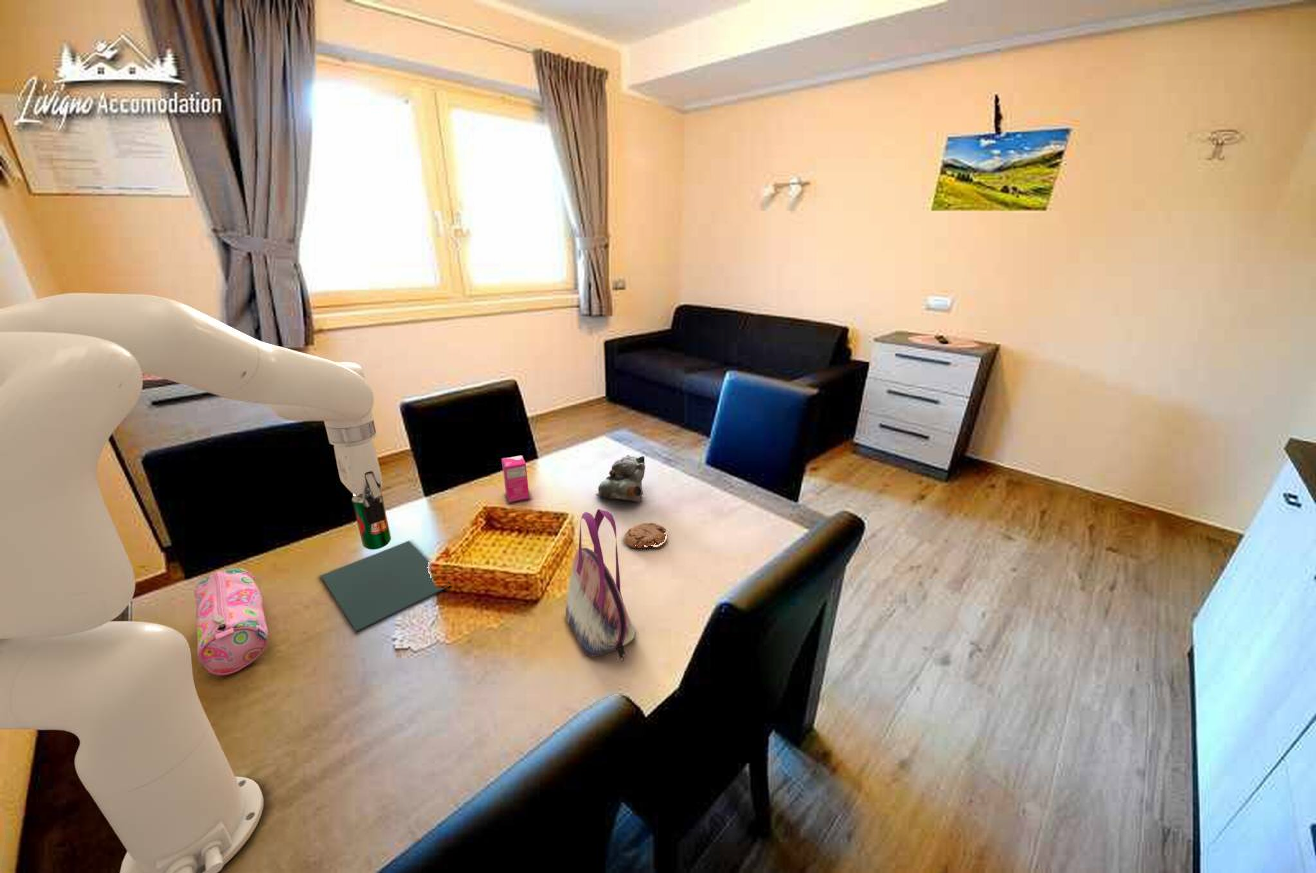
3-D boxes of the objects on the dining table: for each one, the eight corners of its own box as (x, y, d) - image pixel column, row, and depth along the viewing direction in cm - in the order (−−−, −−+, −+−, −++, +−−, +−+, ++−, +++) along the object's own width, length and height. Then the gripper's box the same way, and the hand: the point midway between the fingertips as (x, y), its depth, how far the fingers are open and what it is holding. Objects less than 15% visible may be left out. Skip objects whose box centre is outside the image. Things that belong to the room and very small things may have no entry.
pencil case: (275, 659, 82) (260, 618, 79) (204, 689, 76) (185, 646, 73) (263, 593, 97) (250, 556, 93) (203, 614, 91) (187, 575, 88)
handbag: (650, 658, 85) (654, 539, 75) (598, 681, 80) (595, 557, 70) (601, 586, 102) (600, 482, 92) (556, 601, 97) (549, 493, 87)
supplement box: (505, 494, 137) (501, 457, 132) (526, 490, 139) (523, 454, 135) (508, 504, 132) (504, 466, 127) (530, 500, 134) (527, 463, 130)
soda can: (379, 552, 95) (367, 499, 90) (357, 549, 96) (344, 496, 91) (397, 538, 99) (386, 487, 95) (375, 534, 100) (364, 484, 96)
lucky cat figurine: (588, 494, 138) (598, 446, 139) (623, 500, 145) (633, 455, 146) (613, 502, 126) (625, 450, 127) (650, 508, 132) (661, 459, 134)
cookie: (617, 537, 119) (617, 527, 118) (651, 524, 125) (651, 514, 124) (640, 557, 111) (640, 546, 110) (675, 542, 117) (676, 532, 116)
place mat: (452, 586, 100) (451, 584, 100) (356, 632, 88) (356, 630, 88) (408, 542, 114) (408, 540, 114) (321, 577, 102) (320, 575, 102)
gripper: (314, 423, 91) (335, 506, 98) (343, 450, 80) (365, 541, 87) (358, 414, 96) (375, 494, 103) (391, 438, 85) (408, 525, 92)
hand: (370, 515), depth 95 cm, fingers closed on soda can, 5 cm apart
